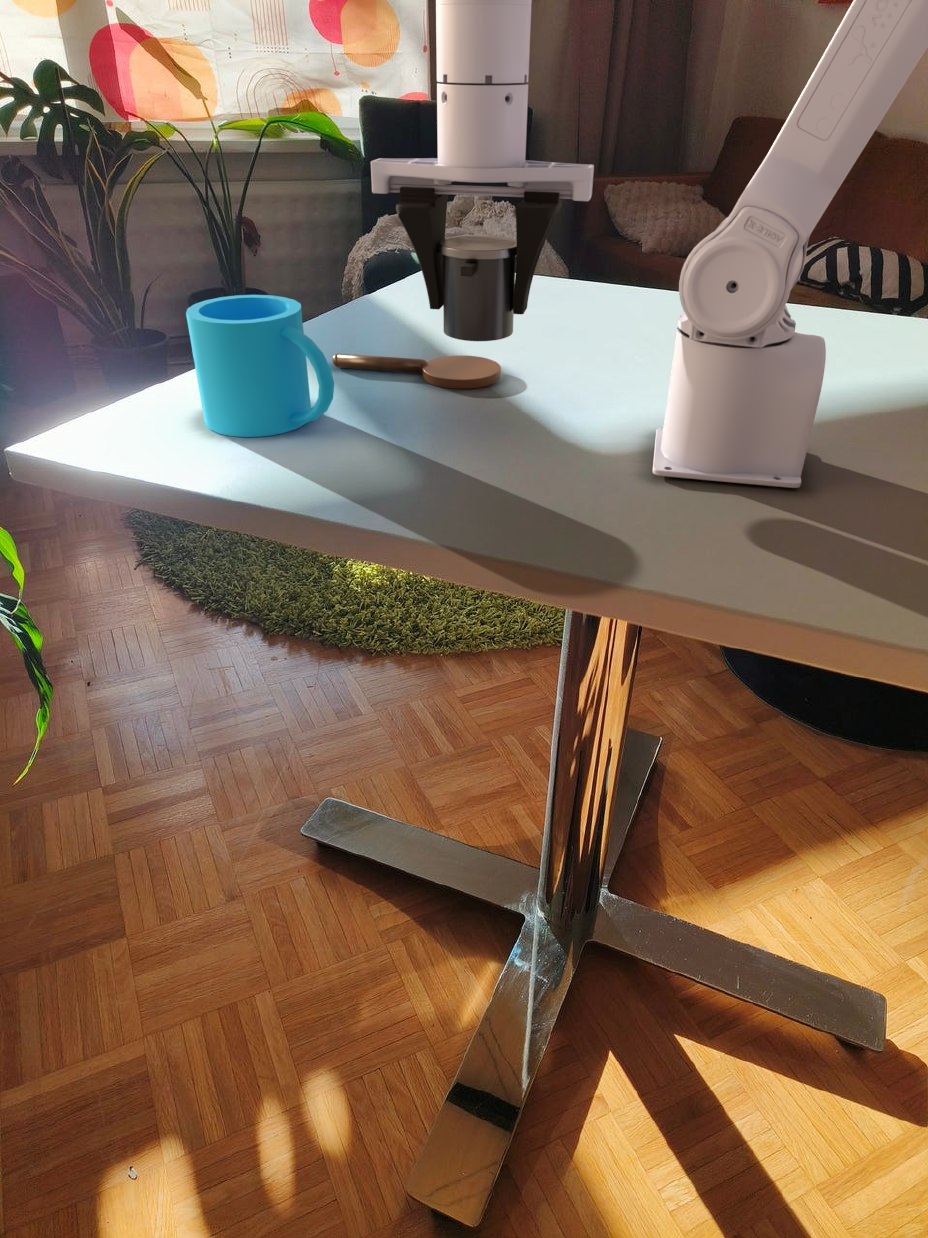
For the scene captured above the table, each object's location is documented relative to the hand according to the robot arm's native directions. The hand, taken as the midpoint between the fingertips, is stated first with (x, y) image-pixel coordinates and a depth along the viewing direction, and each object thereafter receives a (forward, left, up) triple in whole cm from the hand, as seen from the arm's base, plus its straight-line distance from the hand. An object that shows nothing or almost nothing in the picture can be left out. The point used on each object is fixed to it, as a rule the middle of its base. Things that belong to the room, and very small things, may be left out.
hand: (479, 308), depth 61 cm
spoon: (+8, -11, -8) cm, 16 cm away
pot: (0, 0, -2) cm, 2 cm away
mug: (+15, +4, -9) cm, 18 cm away
